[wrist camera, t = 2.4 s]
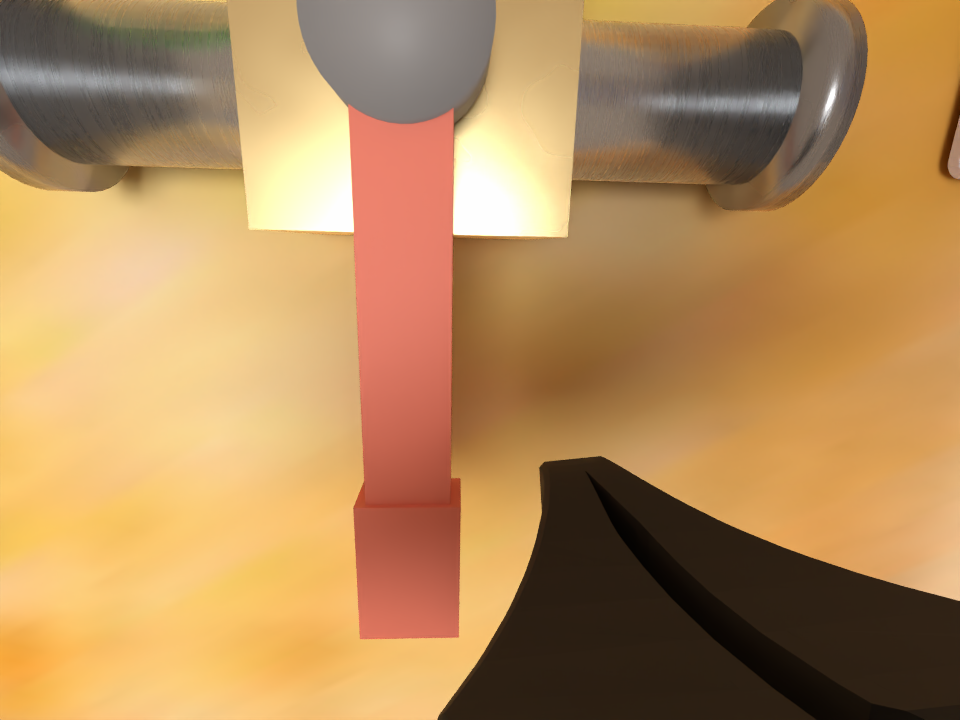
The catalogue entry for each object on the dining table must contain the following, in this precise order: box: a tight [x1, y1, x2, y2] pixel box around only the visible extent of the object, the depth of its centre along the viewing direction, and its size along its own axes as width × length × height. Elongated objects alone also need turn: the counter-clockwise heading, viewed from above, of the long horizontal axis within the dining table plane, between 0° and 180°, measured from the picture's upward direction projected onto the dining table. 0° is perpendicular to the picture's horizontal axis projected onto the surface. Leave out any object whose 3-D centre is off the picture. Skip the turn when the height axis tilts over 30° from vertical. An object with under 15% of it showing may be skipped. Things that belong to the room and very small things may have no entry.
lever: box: [296, 0, 496, 639], centre depth 8 cm, size 12×3×1 cm, turn 179°
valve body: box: [0, 0, 868, 240], centre depth 10 cm, size 17×6×5 cm, turn 89°
